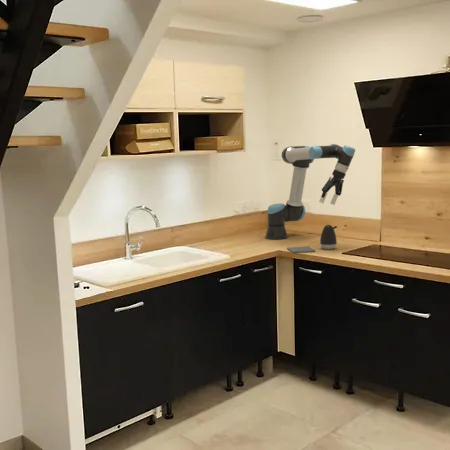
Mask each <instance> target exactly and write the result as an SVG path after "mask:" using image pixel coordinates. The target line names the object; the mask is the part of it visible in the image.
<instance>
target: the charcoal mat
mask: <svg viewBox="0 0 450 450" xmlns="http://www.w3.org/2000/svg"><path fill="white" fill-rule="evenodd" d="M286 250H287V251H289V252H290V253H291V254H300V253H301V254H303V253H304V254H305V253H315V252H316V250H315V249H314V248H312V247H310V246H299V247H297V246H294V247H287V249H286Z"/></svg>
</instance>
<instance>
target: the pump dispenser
mask: <svg viewBox="0 0 450 450" xmlns="http://www.w3.org/2000/svg"><path fill="white" fill-rule="evenodd" d="M337 228H338V226H337V225H335V226H332V225H331V224H326V225H324V227H323V228H322V231H321V234H320V239H319V244H320V247H321V248H322V249H323V250H327V251H328V250H331V251H332V250H334V249H335V248H336V246H337V244H338V241H337V234H336V231H335V229H337Z"/></svg>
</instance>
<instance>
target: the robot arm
mask: <svg viewBox="0 0 450 450" xmlns="http://www.w3.org/2000/svg"><path fill="white" fill-rule="evenodd" d="M355 152H356V149H355V148H354V147H352V146H349V145H343V146H340V145H338V144H336V143H332V144H331V143H330V144H329V145H313V146H309V145H298V146H293V145H292V146H288V147H287V146H286V147H285V148H284V149H283V150H282V152H281V159H282V161H283V162H284V163H286V164H289V165H292V167H293V172H292V178H291V184H290V191H289V196H288V197H289V198H288V199H287V200H286V203H282V202H281V203H275V204H274V203H273V204H271V205H268V208H267V230H266V232H265V239H268V240H283V239H287V238H288V232H287V228H286V227H285V225H286V224H285V223H287V222H290V223H291V222H298V221H302V220H303V219H304V218H305V215H306V207H305V205H304V203H303V201H302V199H303V193H304V187H305V179H306V174H307V169H309V168H310V164H312V163H314V161H315V160H318V159H337V162H336V163H335V166H334V169H333V171H332V176H329V178H328V180H327V182H326V183H325V184H324V186H323V187H322V188H321V191H322V194H321V195H320V198H319V201H318V202H319V203H321V204H324V203H325V201H326V198H327V195H328V192H329V191H330V190H331V189H332V188H333V187H334V191H335V192H334V194H333V196H332V198H331V201H330V204H331V205H332V206H333V205H334V206H335V204H336V203H337V199H338V198H339V197H340V196H341V195H342V192H343V191H342V190H343V185H344V181H345V180H344V179H345V178H346V177H345V176H346V173H347V172H348V171H349V167H350V166H351V162H352V160H353V158H354V156H355Z"/></svg>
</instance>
